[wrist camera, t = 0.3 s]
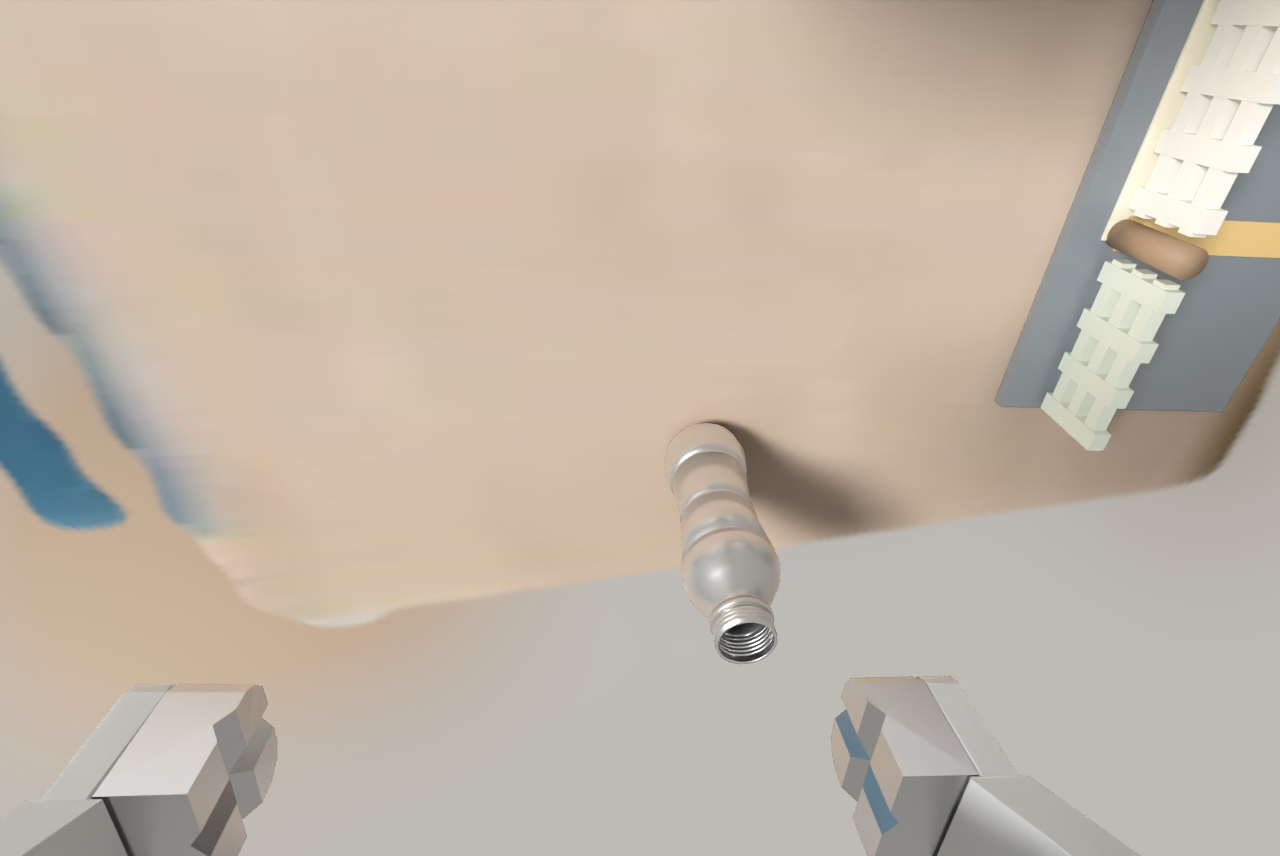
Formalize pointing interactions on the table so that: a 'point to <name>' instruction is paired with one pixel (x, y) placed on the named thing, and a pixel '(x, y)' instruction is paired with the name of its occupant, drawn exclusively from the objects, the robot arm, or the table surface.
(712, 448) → the plastic bottle
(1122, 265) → the fence hinged
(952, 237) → the table surface
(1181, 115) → the fence fixed
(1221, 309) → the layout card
